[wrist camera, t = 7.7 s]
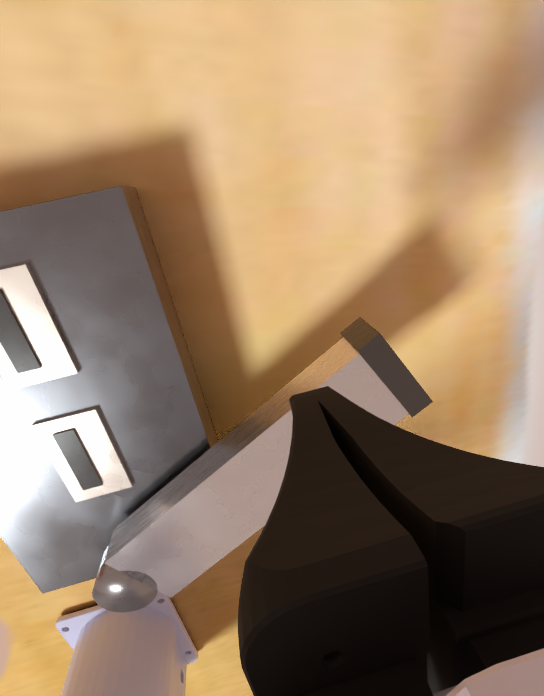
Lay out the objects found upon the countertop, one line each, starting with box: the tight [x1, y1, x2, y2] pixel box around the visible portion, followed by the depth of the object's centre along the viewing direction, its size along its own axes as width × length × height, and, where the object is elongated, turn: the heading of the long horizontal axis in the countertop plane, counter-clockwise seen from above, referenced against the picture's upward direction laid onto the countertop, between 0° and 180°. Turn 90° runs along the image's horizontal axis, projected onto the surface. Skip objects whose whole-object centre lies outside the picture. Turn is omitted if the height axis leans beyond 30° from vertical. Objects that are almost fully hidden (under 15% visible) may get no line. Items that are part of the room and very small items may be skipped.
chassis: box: [0, 186, 218, 593], centre depth 19 cm, size 20×12×3 cm, turn 11°
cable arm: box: [93, 317, 433, 612], centre depth 19 cm, size 20×5×2 cm, turn 130°
